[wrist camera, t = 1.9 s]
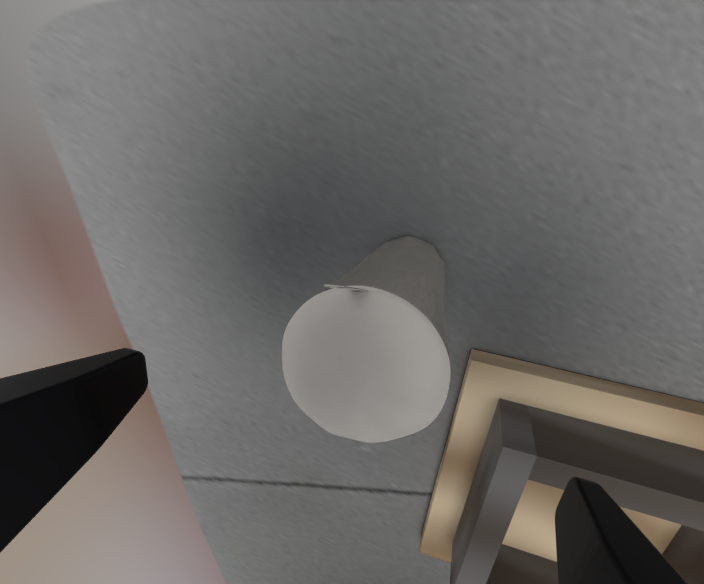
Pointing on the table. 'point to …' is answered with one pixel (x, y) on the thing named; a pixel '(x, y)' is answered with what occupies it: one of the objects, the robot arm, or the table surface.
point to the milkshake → (373, 346)
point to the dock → (560, 469)
